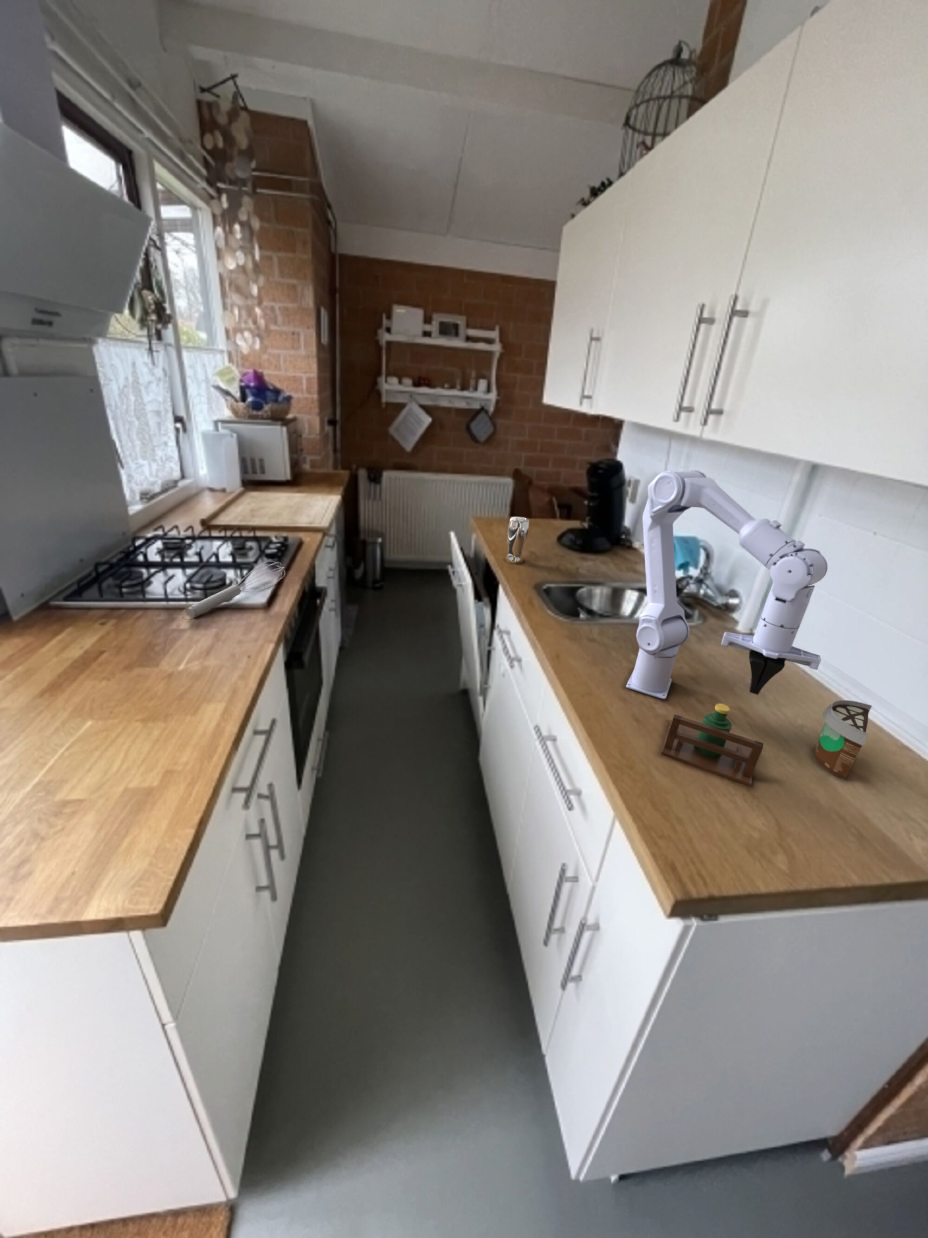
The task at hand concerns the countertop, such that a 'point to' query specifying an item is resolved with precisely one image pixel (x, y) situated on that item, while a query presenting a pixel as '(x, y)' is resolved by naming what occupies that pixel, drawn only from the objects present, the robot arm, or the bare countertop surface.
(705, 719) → the bottle
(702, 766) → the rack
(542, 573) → the countertop surface
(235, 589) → the kitchen whisk
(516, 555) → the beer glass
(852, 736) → the food container
